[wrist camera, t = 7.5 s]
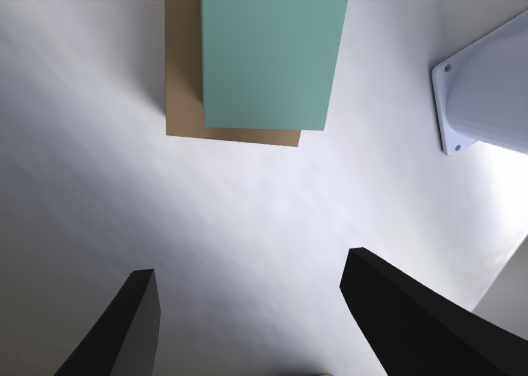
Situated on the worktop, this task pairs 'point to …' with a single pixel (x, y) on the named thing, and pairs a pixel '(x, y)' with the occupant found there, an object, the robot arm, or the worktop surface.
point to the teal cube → (269, 62)
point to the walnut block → (199, 83)
